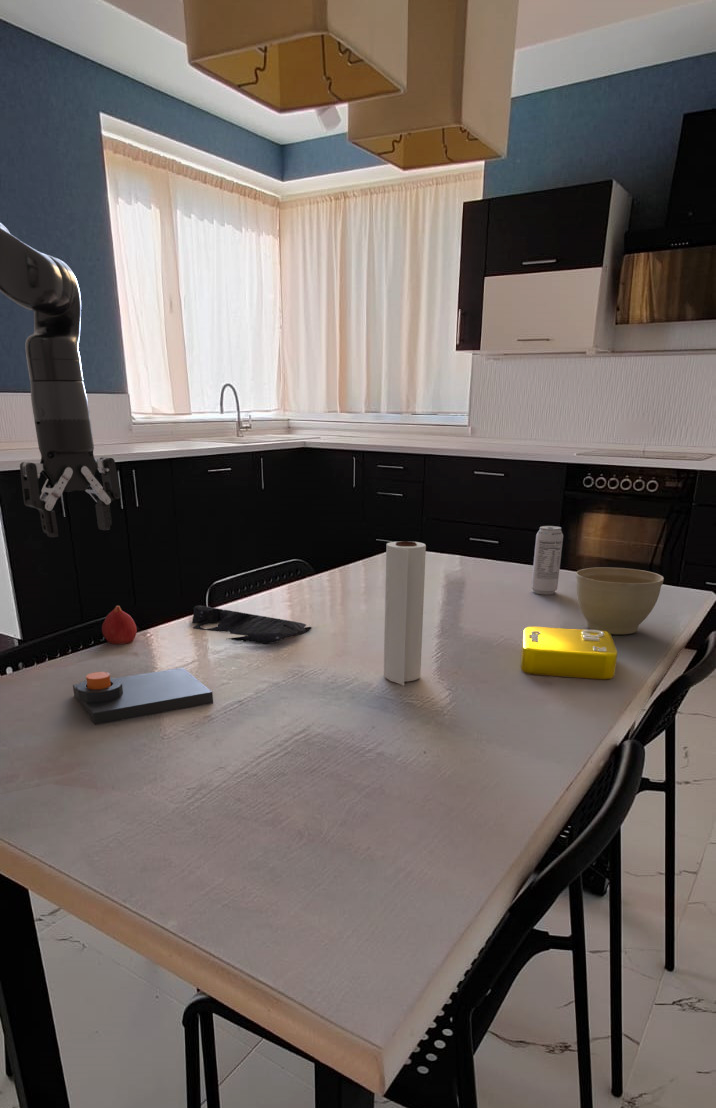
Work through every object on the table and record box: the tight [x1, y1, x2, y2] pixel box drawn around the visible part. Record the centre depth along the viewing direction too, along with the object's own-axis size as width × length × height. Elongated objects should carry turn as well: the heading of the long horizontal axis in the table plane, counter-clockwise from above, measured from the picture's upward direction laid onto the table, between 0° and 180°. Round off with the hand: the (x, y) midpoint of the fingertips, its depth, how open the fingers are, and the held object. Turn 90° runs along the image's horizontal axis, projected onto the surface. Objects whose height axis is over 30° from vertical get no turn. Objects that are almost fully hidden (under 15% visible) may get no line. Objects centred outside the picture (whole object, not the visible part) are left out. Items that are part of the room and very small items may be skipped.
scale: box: [72, 667, 214, 726], centre depth 113 cm, size 18×13×4 cm
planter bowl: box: [575, 566, 665, 635], centre depth 150 cm, size 16×16×11 cm
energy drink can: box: [530, 525, 564, 596], centre depth 179 cm, size 6×6×15 cm
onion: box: [101, 605, 138, 645], centre depth 136 cm, size 6×6×8 cm
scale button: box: [85, 671, 111, 689], centre depth 110 cm, size 3×3×2 cm
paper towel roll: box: [383, 540, 427, 687], centre depth 120 cm, size 7×6×21 cm
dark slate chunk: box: [191, 604, 312, 645], centre depth 147 cm, size 15×22×5 cm
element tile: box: [520, 625, 618, 681], centre depth 131 cm, size 15×15×5 cm
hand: (79, 533), depth 116 cm, fingers open, 8 cm apart
